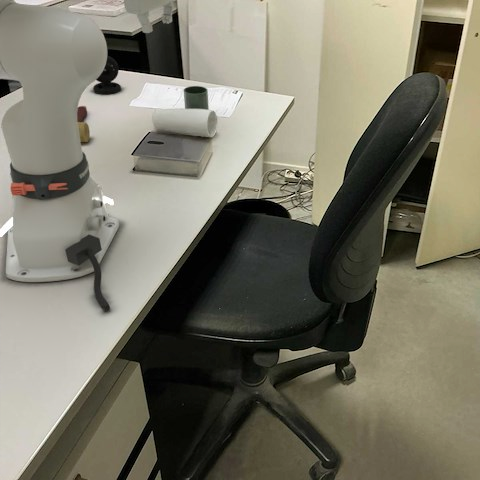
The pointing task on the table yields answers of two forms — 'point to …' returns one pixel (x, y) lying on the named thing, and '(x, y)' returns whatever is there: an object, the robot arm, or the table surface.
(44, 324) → the table surface
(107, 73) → the webcam
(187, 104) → the tin
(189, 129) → the drinking glass
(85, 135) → the gavel
